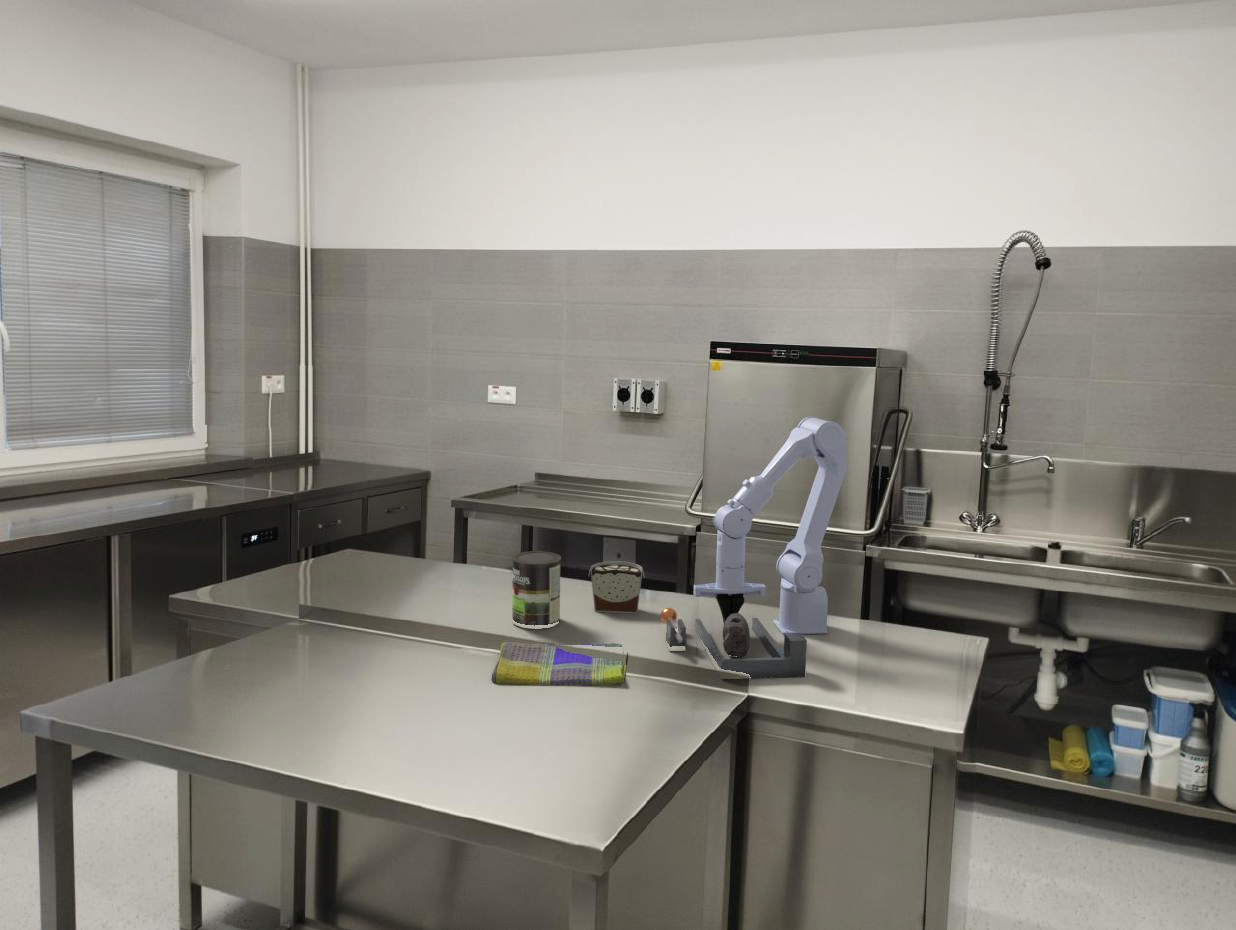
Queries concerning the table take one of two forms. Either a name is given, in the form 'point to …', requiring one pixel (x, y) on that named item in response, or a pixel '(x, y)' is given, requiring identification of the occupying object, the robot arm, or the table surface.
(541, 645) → the dish towel
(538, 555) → the coffee can
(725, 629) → the perforated stone tool
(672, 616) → the lever
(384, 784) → the table surface
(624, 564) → the food container
